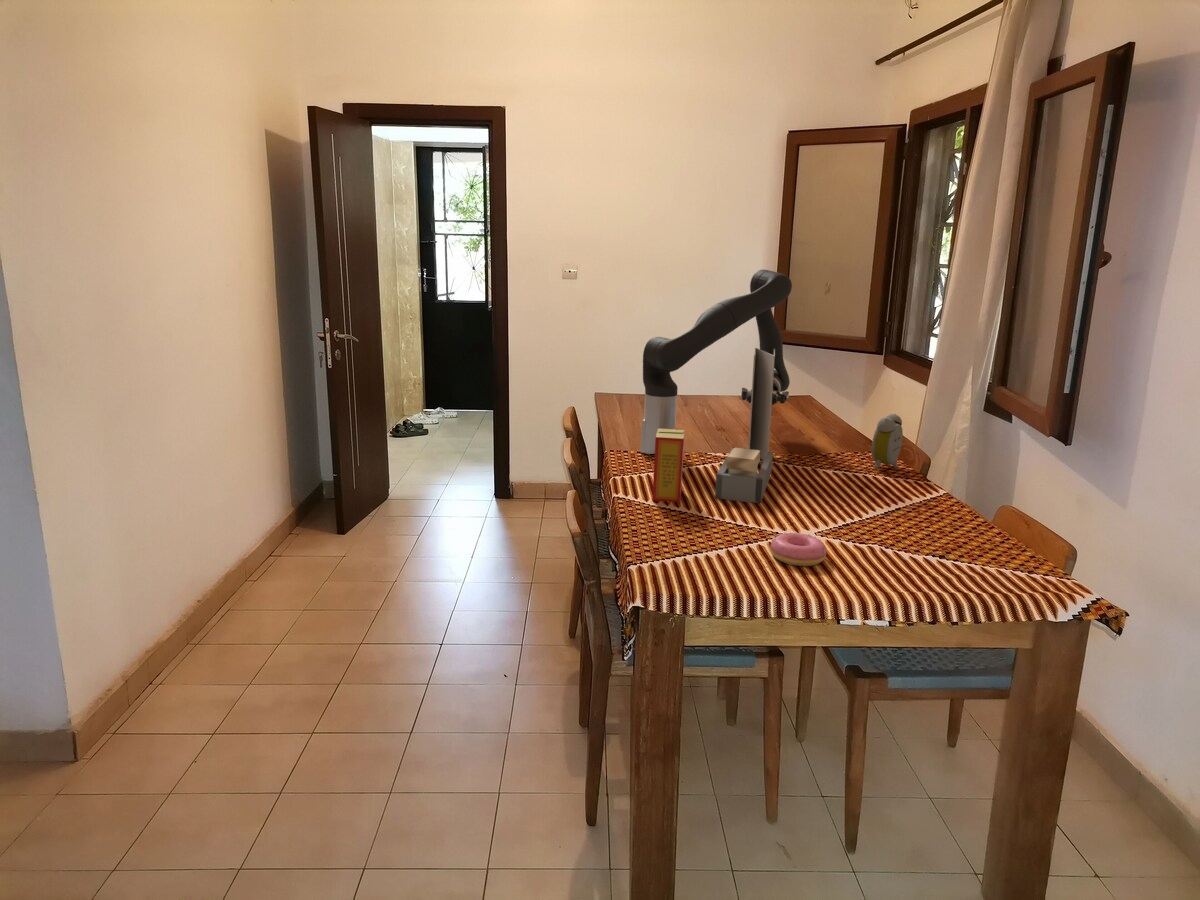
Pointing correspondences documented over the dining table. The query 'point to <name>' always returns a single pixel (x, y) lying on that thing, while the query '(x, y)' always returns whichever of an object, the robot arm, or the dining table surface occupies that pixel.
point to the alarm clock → (887, 441)
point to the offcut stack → (743, 462)
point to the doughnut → (798, 549)
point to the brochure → (761, 401)
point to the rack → (743, 483)
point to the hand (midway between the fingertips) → (761, 400)
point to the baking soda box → (668, 465)
